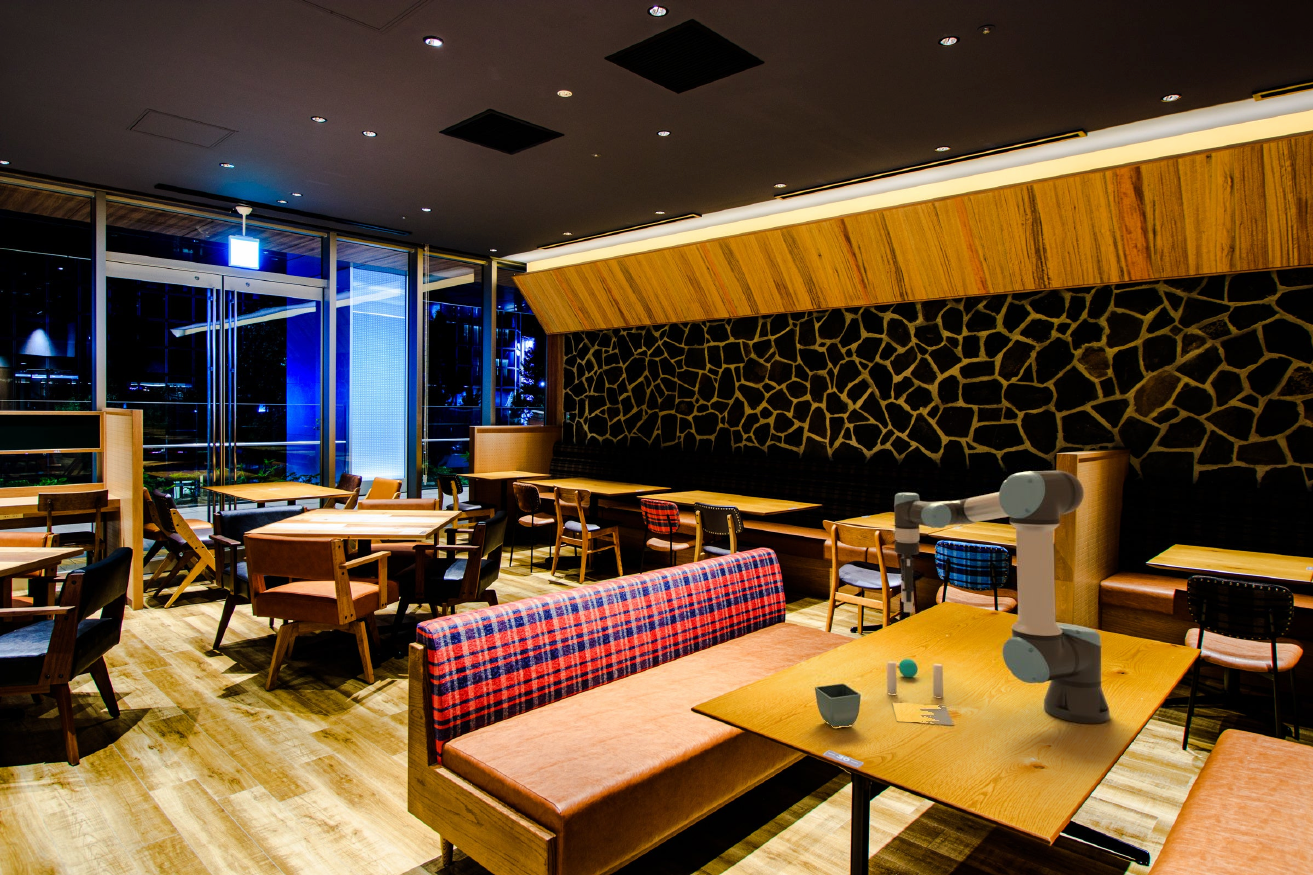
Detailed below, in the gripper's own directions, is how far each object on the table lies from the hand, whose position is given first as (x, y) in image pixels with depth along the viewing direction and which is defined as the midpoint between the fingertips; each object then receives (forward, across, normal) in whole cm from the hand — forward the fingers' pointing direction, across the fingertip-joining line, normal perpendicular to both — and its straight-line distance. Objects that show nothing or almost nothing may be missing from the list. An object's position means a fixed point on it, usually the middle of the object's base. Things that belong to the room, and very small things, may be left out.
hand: (907, 606), depth 233 cm
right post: (+19, +27, +7) cm, 33 cm away
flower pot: (+19, +54, -20) cm, 61 cm away
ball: (+16, +11, 0) cm, 20 cm away
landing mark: (+19, +41, +1) cm, 45 cm away
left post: (+19, +27, -6) cm, 34 cm away
